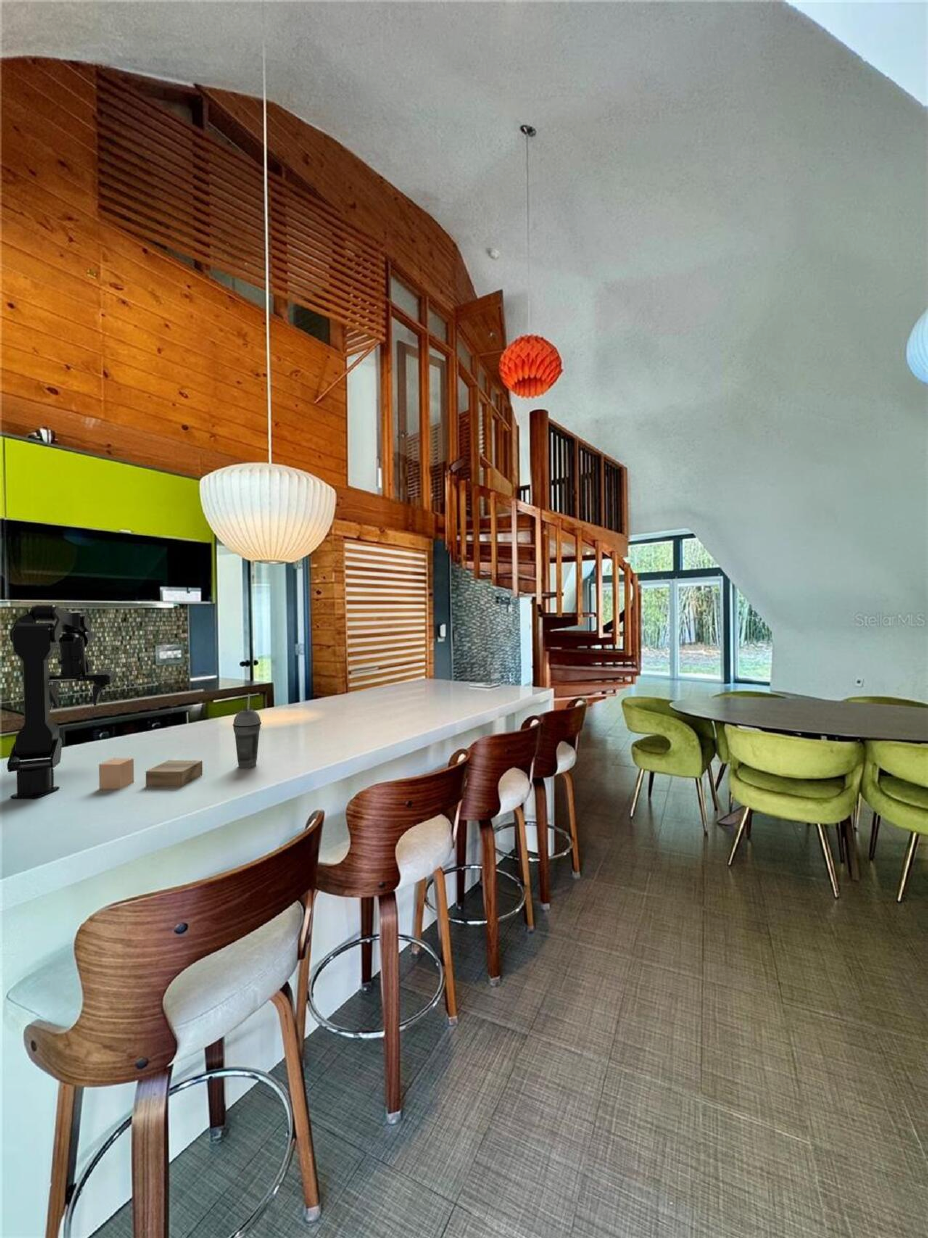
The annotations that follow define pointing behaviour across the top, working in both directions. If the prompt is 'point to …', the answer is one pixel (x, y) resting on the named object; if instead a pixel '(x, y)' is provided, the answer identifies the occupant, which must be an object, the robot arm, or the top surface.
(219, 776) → the top surface
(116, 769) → the terracotta cube
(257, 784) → the top surface
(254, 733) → the beverage cup
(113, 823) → the top surface
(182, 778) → the walnut box
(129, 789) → the top surface
